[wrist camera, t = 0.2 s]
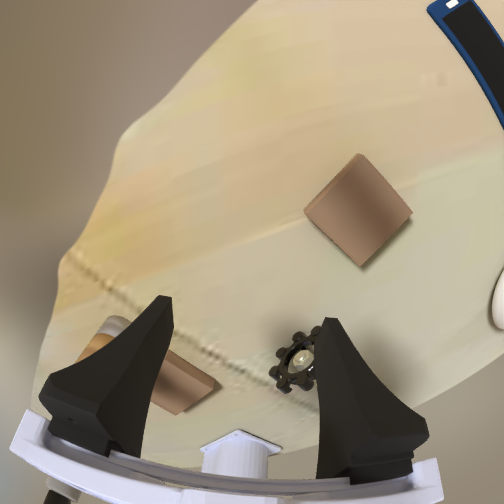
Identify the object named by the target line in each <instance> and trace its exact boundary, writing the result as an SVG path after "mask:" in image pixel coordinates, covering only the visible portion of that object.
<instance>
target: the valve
mask: <svg viewBox="0 0 504 504" xmlns="http://www.w3.org/2000/svg"><path fill="white" fill-rule="evenodd" d="M320 329H321V326H316V327H314V328H313V329H312V330H311V334H310V335H309V336H308V337H306V336H305V335H304V334H303V333H302V332H300V331H299V332H297V333H295V334H294V335H293V338H292V340H293V341H294V343H293V345H292V346H290V347H289V348H288V349H286V348H284V347H282V348H280V349H278V351H277V352H276V357H277V358H279V359H280V360H281V362H280V364H279V365H278V366H273V367H272V368H271V369H270V371H269V375H270V376H271V377H272V378H273V379H274V380H276V381H278V382H277V384H276V387H277V388H278V389H279V390H280V391H282V392H283V393H284V394H287V393H289V392H291V391H292V388H290V387H289V386H290V384H294V385H298V386H299V387H300V388H301V389H302V390H304V391H309V390H310V389H312V387H313V386H314V383H315V385H316V386H317V382H316V375H315V367H314V354H312V352H311V350H310V349H309V348H308V346H307V345H314V344H315V341H316V339H317V337H318V334H319V332H320ZM300 349H301V350H302V351H300V352H299V353H297V354H296V356H295V357H294V359H293V364H294V366H295V367H296V368H297V370H298V371H299V372H298V373H294V374H290V373H289V372H288V365H289V362H290V360H291V358H292V357H293V356H294V354H295V353H296V352H297V351H299V350H300ZM281 375H282V378H281V379H280V376H281ZM313 380H314V381H313Z"/></svg>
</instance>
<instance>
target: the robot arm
mask: <svg viewBox="0 0 504 504" xmlns="http://www.w3.org/2000/svg"><path fill="white" fill-rule="evenodd" d="M173 329H174V322H173V310H172V297H168V296H162V295H159V296H157V297H156V298H155V300H154V301H153V302H152V303H151V304H150V305H149V306H148V307H147V308H146V309H145V310H144V311H143V312H142V313H141V314H140V315H139V316H138V317H137V318H136V319H135V320H134V321H133V322H132V323H131V324H130V325H129V326H128V327H127V328H126V329H124V330H123V331H122V332H121V333H120V334H119V335H118V336H116V337H115V338H114V339H113V340H111V341H110V342H109V343H107V344H106V345H105V346H103V347H102V348H100V349H99V350H97V351H96V352H94V353H93V354H91V355H90V356H88V357H86V358H84V359H83V360H81V361H79V362H77V363H75V364H73V365H71V366H69V367H67V368H64V369H62V370H59V371H57V372H54V373H51V374H50V375H49V377H48V379H47V380H46V382H45V384H44V386H43V388H42V390H41V392H40V394H39V400H40V402H41V403H42V405H43V406H44V407H45V408H46V409H47V410H48V412H49V413H50V414H51V415H52V416H53V417H52V420H51V421H49V420H48V419H47V418H45V417H43V416H41V415H39V414H37V413H35V412H33V411H32V410H30V409H27V410H26V412H25V414H24V416H23V418H22V421H21V423H20V425H19V427H18V429H17V432H16V434H15V436H14V439H13V441H12V443H11V446H10V450H11V451H12V452H14V453H15V454H16V455H18V456H19V457H21V458H22V459H24V460H25V461H27V462H28V463H29V464H31V465H32V466H34V467H36V468H37V469H39V470H41V471H43V472H45V473H46V474H48V475H50V476H52V477H54V478H56V479H58V480H60V481H62V482H64V483H66V484H68V485H70V486H72V487H74V488H76V489H78V490H80V491H83V492H85V493H88V494H90V495H92V496H94V497H97V498H100V499H102V500H104V501H107V502H110V503H112V504H434V503H436V502H439V501H441V500H443V499H444V495H443V489H442V484H441V478H440V474H439V469H438V463H437V459H436V458H435V457H434V458H430V459H427V460H422V461H418V462H415V463H413V464H412V462H411V459H412V458H414V454H413V450H415V449H416V448H418V447H419V446H420V445H422V444H423V443H424V442H425V441H427V439H428V438H429V431H428V427H427V424H426V421H425V418H423V417H421V416H420V415H419V414H417V413H416V412H414V411H413V410H412V409H410V408H409V407H408V406H406V405H405V404H404V403H403V402H401V401H400V400H399V399H398V398H397V397H396V396H395V395H394V394H393V393H392V392H391V391H390V390H389V389H387V388H386V387H385V385H384V384H383V383H382V382H381V381H380V380H379V379H378V378H377V376H376V375H375V374H374V373H373V372H372V371H371V369H370V368H369V367H368V365H367V364H366V363H365V361H364V360H363V358H362V357H361V355H360V354H359V352H358V351H357V349H356V348H355V346H354V345H353V343H352V342H351V340H350V338H349V337H348V335H347V333H346V332H345V330H344V328H343V327H342V325H341V323H340V322H339V320H338V319H337V318H328V317H325V319H324V322H323V324H322V327H321V329H320V332H319V334H318V337H317V339H316V341H315V344H314V367H315V375H316V382H317V390H318V397H319V407H320V435H319V453H318V464H317V473H316V479H313V480H312V479H309V480H278V479H267V468H268V456H270V455H272V454H274V453H277V452H279V451H281V447H279V446H276V445H274V444H271V443H269V442H267V441H264V440H262V439H259V438H257V437H255V436H253V435H250V434H248V433H246V432H244V431H241V430H236V431H234V432H232V433H230V434H228V435H226V436H224V437H222V438H220V439H218V440H216V441H214V442H212V443H210V444H208V445H206V446H204V447H202V448H200V451H201V452H203V453H205V454H204V460H203V465H202V470H201V472H198V471H192V470H186V469H181V468H177V467H172V466H167V465H163V464H159V463H155V462H151V461H147V460H144V459H140V455H141V448H142V441H143V434H144V429H145V423H146V418H147V413H148V408H149V404H150V400H151V396H152V391H153V388H154V385H155V382H156V379H157V376H158V374H159V371H160V369H161V366H162V363H163V361H164V358H165V356H166V353H167V350H168V348H169V345H170V341H171V337H172V333H173ZM160 480H161V481H160ZM163 481H166V482H170V483H175V484H180V485H184V486H190V487H195V488H179V487H172V486H167V485H165V483H164V482H163ZM198 488H200V489H198ZM268 495H286V496H288V495H289V496H292V495H295V496H293V497H292V499H285V498H283V497H278V496H268Z"/></svg>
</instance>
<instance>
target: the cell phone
mask: <svg viewBox="0 0 504 504" xmlns="http://www.w3.org/2000/svg"><path fill="white" fill-rule="evenodd" d="M427 13H428V14H429V15H430V17H431V18H432V19H433V20H434V22H435V23H436V24H437V25H438V26H439V28H440V29H441V30H442V31H443V33H444V34H445V35H446V36H447V38H448V39H449V40H450V42H451V43H452V44H453V46H454V47H455V48H456V50H457V51H458V53H459V54H460V55H461V57H462V58H463V60H464V61H465V63H466V64H467V66H468V67H469V69H470V70H471V72H472V73H473V75H474V76H475V78H476V80H477V81H478V83H479V85H480V86H481V88H482V90H483V91H484V93H485V95H486V97H487V99H488V100H489V102H490V104H491V106H492V108H493V110H494V112H495V114H496V116H497V118H498V120H499V122H500V123H501V125H502V127H503V129H504V42H503V40H502V39H501V37H500V36H499V34H498V33H497V31H496V30H495V28H494V27H493V25H492V24H491V23H490V21H489V20H488V18H487V17H486V16H485V14H484V13H483V12H482V10H481V9H480V8H479V6H478V5H477V4H476V3H475V1H474V0H437V1H435V2H433V3H432V4H430V5H429V6H428V7H427Z"/></svg>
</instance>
